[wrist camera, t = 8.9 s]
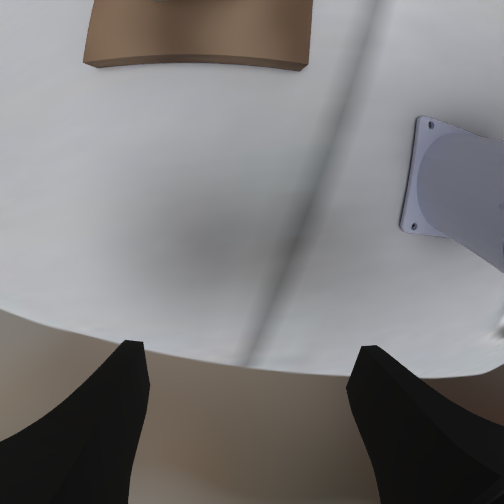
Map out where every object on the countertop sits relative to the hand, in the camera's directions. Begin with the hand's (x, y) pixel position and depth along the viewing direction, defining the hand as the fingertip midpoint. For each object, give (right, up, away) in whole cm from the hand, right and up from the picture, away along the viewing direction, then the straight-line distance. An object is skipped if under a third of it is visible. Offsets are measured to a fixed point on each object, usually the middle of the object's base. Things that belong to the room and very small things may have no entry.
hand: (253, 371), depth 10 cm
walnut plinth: (-3, +20, +3) cm, 20 cm away
